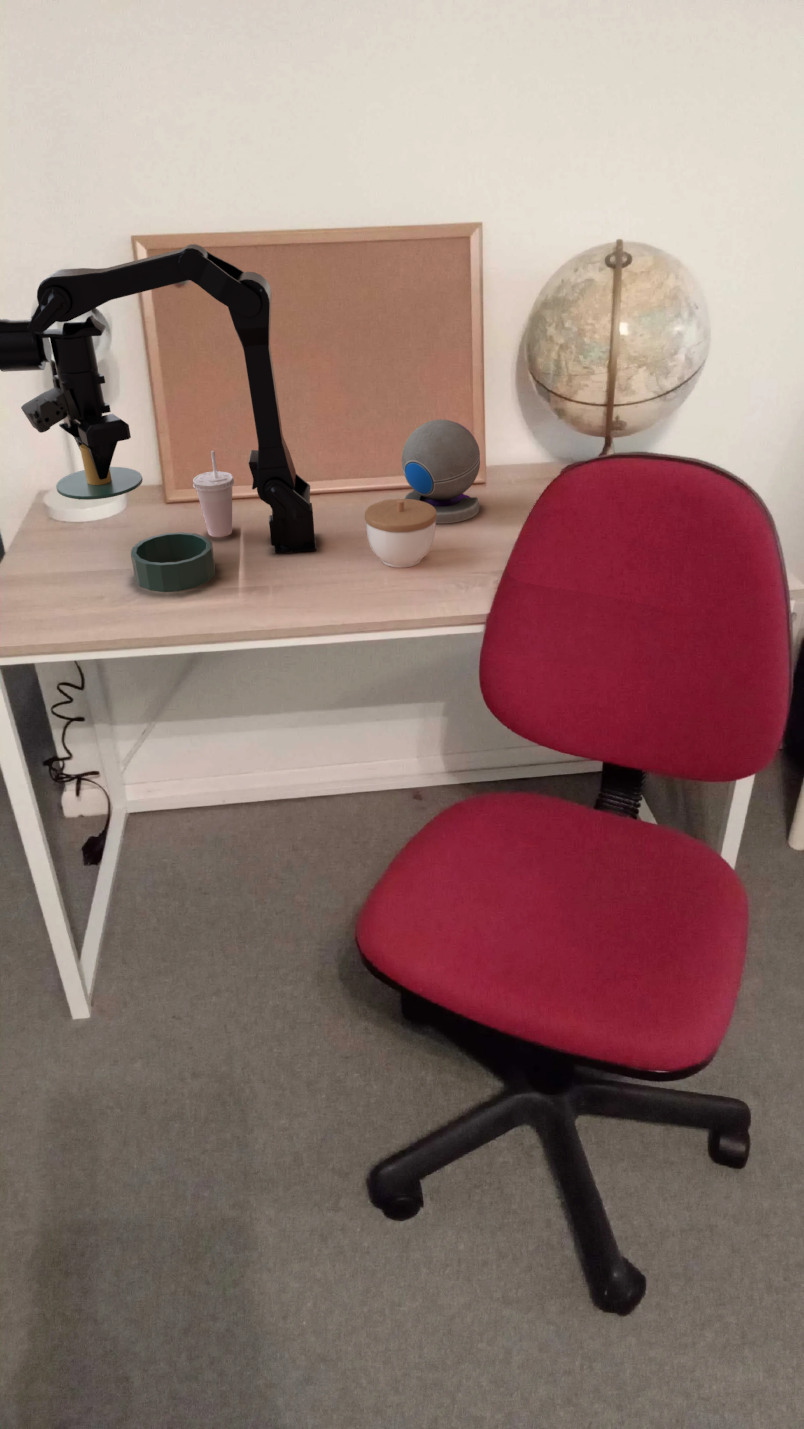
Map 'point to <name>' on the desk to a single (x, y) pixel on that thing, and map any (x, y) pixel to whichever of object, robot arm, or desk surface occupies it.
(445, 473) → the webcam
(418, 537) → the trinket box
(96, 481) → the lid
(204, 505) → the smoothie
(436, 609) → the desk surface
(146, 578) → the tin
